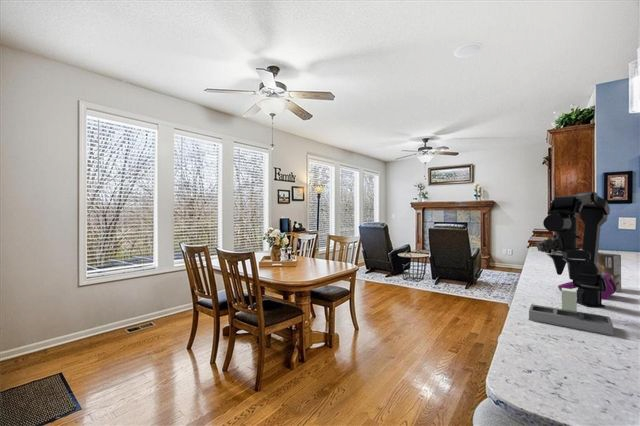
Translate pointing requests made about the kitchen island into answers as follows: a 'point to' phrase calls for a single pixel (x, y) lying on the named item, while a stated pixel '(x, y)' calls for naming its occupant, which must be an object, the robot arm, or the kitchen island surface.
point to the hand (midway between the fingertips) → (565, 277)
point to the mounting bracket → (605, 294)
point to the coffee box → (611, 266)
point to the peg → (569, 299)
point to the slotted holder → (571, 319)
